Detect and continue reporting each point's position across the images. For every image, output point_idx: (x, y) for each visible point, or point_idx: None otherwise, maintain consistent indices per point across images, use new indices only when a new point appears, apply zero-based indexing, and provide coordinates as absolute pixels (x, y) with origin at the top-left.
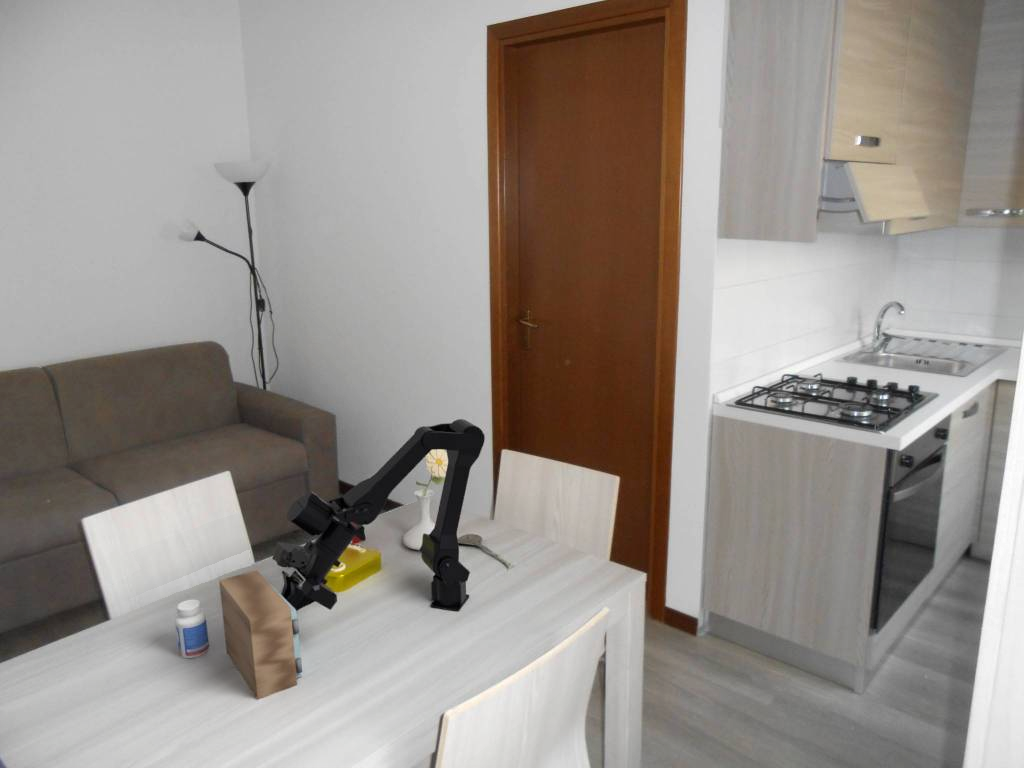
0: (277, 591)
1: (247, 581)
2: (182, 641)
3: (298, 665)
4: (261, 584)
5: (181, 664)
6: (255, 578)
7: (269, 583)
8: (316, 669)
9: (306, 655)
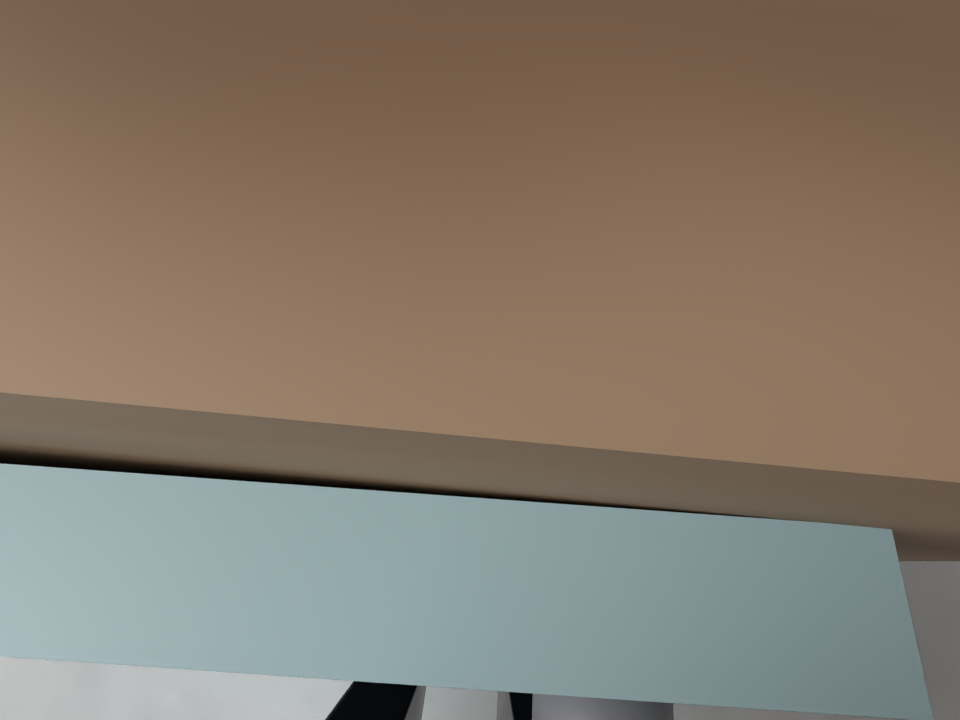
0: (135, 652)
1: (806, 18)
2: None
3: None
4: (311, 182)
5: None
6: (904, 224)
7: (748, 688)
8: (100, 685)
9: (291, 714)
